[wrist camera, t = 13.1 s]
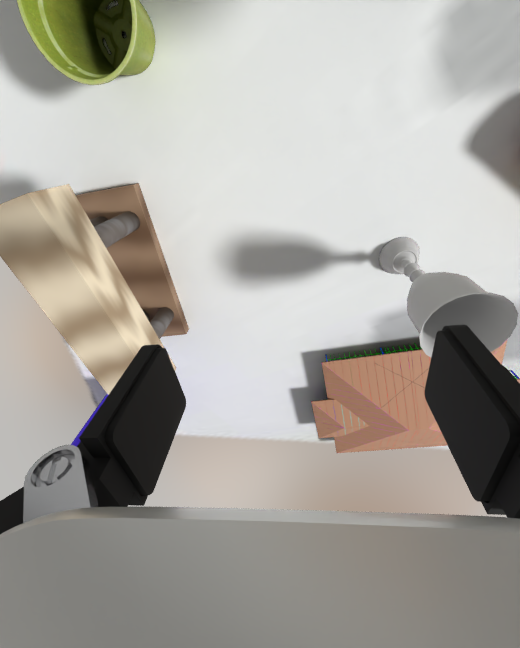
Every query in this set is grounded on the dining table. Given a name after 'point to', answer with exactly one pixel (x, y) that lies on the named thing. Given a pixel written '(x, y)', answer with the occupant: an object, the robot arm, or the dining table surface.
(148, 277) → the peg stand
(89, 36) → the plant pot
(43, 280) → the shelf board
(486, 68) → the dining table surface
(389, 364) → the house
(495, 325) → the chalice
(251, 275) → the dining table surface
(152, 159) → the dining table surface
